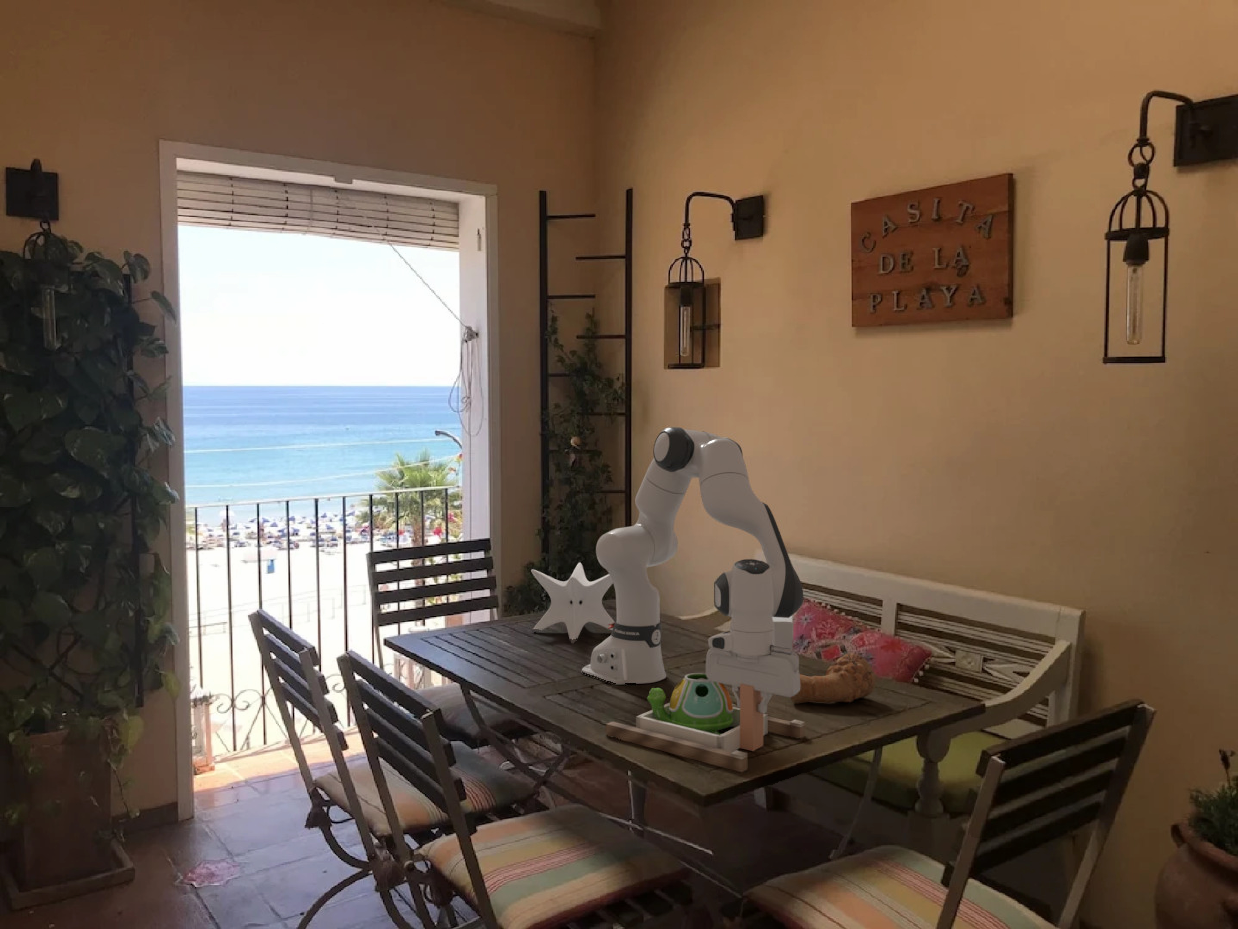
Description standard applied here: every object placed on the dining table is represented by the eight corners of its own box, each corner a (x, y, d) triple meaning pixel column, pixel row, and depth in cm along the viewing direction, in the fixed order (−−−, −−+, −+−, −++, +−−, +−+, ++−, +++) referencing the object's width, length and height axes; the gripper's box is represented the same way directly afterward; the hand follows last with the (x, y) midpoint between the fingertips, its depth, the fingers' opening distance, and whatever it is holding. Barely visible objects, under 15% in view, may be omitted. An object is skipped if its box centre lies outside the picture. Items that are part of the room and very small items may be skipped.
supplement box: (792, 680, 235) (793, 622, 235) (757, 679, 237) (757, 620, 236) (793, 671, 244) (793, 614, 244) (758, 669, 246) (759, 613, 245)
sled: (636, 735, 195) (635, 674, 194) (685, 714, 209) (685, 656, 208) (734, 761, 180) (734, 694, 179) (780, 736, 194) (780, 674, 193)
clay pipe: (872, 727, 211) (877, 689, 224) (872, 687, 207) (877, 651, 220) (788, 716, 217) (798, 680, 230) (787, 677, 213) (797, 643, 226)
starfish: (531, 633, 290) (530, 569, 289) (580, 623, 303) (579, 562, 302) (572, 644, 275) (572, 577, 274) (622, 633, 288) (621, 569, 287)
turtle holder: (647, 722, 204) (647, 668, 203) (730, 722, 203) (730, 668, 203) (647, 741, 191) (647, 684, 191) (735, 742, 191) (735, 684, 190)
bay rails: (606, 735, 195) (606, 721, 195) (675, 706, 215) (675, 693, 215) (741, 772, 175) (741, 756, 174) (804, 736, 194) (804, 721, 194)
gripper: (806, 646, 182) (806, 716, 183) (718, 632, 195) (718, 697, 196) (790, 653, 178) (790, 724, 178) (701, 637, 190) (701, 704, 191)
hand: (751, 710), depth 187 cm, fingers open, 3 cm apart
